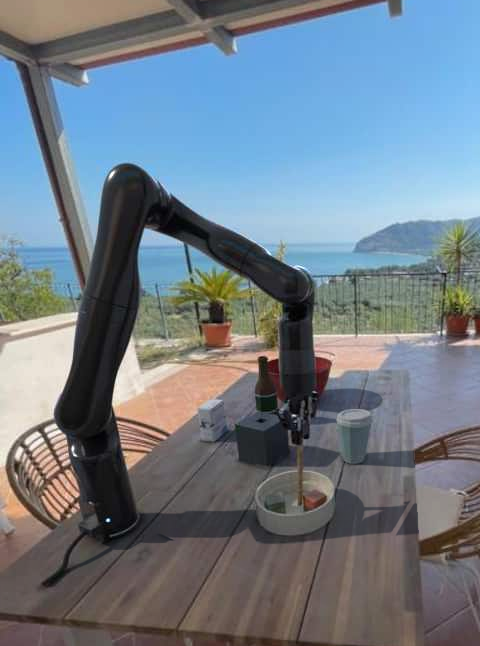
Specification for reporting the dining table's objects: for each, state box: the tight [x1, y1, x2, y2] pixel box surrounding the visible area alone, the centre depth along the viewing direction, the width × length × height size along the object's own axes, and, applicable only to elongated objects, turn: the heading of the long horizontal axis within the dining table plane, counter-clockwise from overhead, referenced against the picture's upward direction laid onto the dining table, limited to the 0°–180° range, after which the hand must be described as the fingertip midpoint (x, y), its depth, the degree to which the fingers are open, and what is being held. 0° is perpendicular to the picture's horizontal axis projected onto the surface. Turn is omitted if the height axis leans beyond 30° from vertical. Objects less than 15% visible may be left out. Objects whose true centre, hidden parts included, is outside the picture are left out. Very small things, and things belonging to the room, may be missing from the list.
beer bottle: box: [254, 355, 279, 415], centre depth 138 cm, size 8×8×24 cm
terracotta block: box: [303, 489, 327, 512], centre depth 92 cm, size 4×4×4 cm
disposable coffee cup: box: [336, 408, 374, 465], centre depth 114 cm, size 11×11×15 cm
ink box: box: [197, 398, 228, 443], centre depth 129 cm, size 9×5×12 cm, turn 168°
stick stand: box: [234, 411, 290, 468], centre depth 115 cm, size 11×11×12 cm
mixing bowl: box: [268, 355, 333, 403], centre depth 160 cm, size 28×28×16 cm
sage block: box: [265, 492, 286, 514], centre depth 91 cm, size 4×4×4 cm
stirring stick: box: [294, 420, 309, 506], centre depth 89 cm, size 3×3×21 cm
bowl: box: [254, 469, 336, 537], centre depth 92 cm, size 18×18×6 cm
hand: (300, 441), depth 87 cm, fingers closed on stirring stick, 2 cm apart
